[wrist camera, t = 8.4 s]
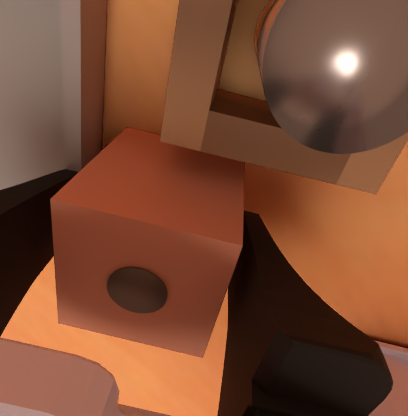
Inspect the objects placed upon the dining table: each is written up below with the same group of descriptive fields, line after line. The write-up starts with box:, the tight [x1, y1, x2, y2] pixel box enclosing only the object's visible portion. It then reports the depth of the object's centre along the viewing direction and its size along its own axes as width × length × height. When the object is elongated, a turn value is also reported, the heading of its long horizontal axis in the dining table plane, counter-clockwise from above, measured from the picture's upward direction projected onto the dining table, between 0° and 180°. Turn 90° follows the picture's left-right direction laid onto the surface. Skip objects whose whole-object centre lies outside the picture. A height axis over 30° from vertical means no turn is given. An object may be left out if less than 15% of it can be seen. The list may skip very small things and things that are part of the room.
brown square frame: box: [160, 0, 408, 194], centre depth 9 cm, size 7×7×3 cm
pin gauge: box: [255, 0, 408, 154], centre depth 8 cm, size 3×3×7 cm
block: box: [50, 127, 245, 358], centre depth 12 cm, size 5×5×6 cm
